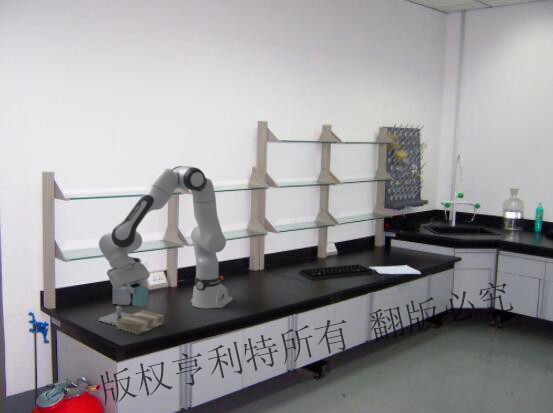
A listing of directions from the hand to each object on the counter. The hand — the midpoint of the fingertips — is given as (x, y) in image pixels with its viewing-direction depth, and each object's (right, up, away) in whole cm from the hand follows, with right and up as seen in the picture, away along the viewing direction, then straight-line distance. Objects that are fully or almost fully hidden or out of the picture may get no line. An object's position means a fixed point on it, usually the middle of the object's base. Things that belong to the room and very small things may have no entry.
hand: (139, 291), depth 244 cm
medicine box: (-16, -11, +31) cm, 37 cm away
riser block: (0, -16, +2) cm, 16 cm away
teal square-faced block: (0, -6, 0) cm, 6 cm away
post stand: (-11, -15, +8) cm, 20 cm away
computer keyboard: (+98, -6, +105) cm, 144 cm away
